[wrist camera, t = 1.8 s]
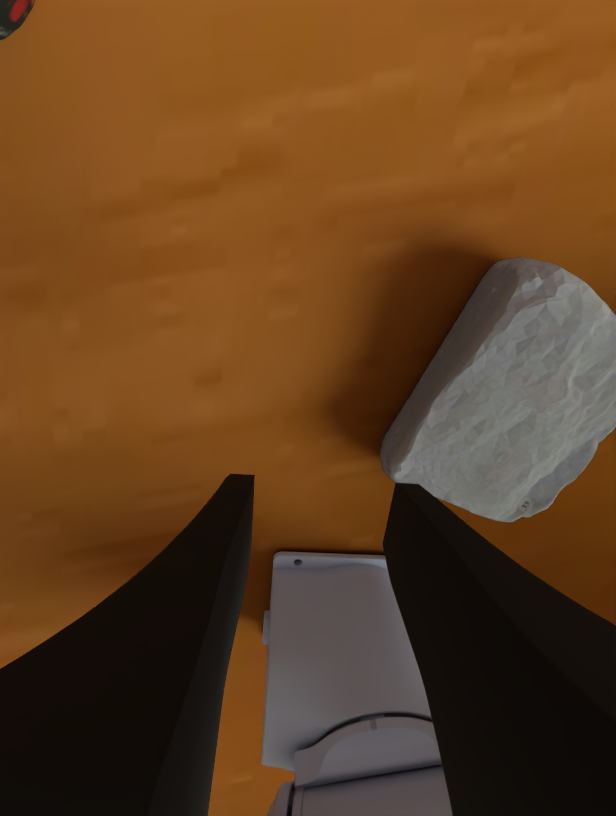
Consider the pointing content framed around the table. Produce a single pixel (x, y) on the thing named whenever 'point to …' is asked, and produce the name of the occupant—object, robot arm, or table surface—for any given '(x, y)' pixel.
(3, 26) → the deodorant
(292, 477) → the table surface
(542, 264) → the stone block
